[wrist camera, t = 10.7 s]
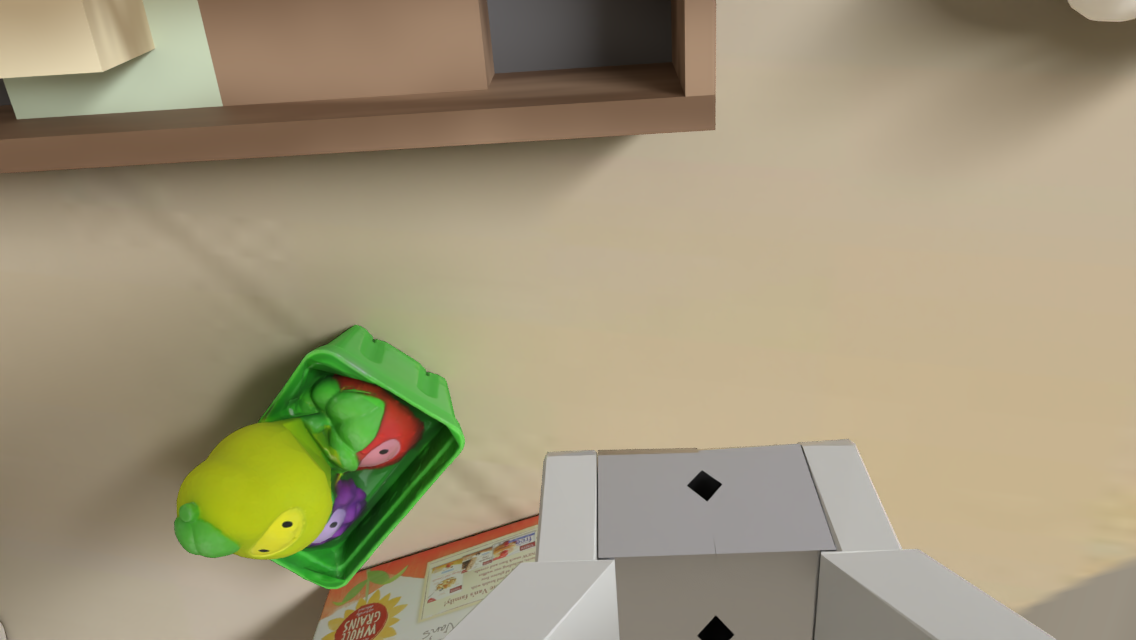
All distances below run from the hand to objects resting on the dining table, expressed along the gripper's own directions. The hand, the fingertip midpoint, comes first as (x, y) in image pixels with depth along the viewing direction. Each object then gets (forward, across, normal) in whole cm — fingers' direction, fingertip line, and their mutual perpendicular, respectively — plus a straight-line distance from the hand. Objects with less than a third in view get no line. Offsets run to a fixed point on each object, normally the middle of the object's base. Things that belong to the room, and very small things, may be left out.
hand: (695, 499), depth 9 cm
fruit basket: (+30, -14, -17) cm, 37 cm away
